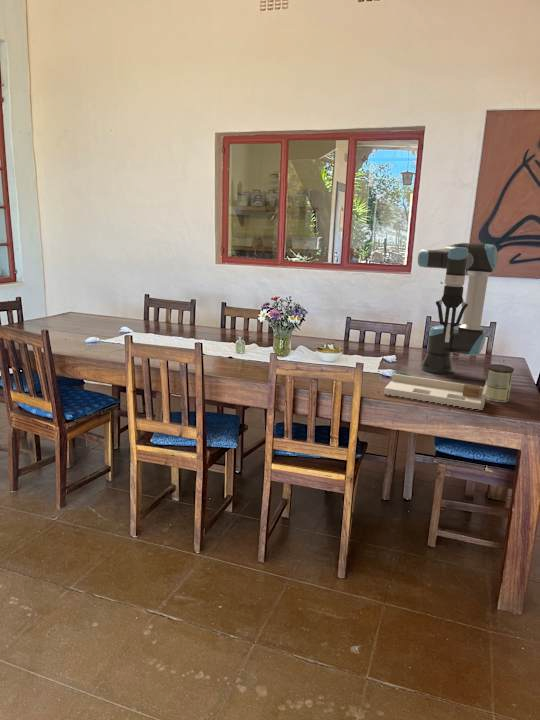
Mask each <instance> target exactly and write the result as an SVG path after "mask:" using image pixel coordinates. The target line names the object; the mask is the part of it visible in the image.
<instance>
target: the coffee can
mask: <svg viewBox="0 0 540 720" xmlns="http://www.w3.org/2000/svg"><path fill="white" fill-rule="evenodd" d="M514 370H515V369H514V368H513V367H511V366H508V365H504V364H488V365H487V371H486V372H487V373H486V379H485V385H488V386H487V393H486V399H485V400H487V401H491V402H496V403H507V401H508V402H509V401H510V394H511V388H512V382H513V376H514V374H513V373H514Z"/></svg>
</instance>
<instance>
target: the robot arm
mask: <svg viewBox="0 0 540 720" xmlns="http://www.w3.org/2000/svg"><path fill="white" fill-rule="evenodd" d="M417 265H418V267H420V268H429V269H431V268H433V269H443V270H444V269H445V270H446V273H445V278H444V280H445V281H444V284H445V285H444V287H443V294H442V295H443V296H442V297H441V299H439V300H436V301H435V304H436V306H437V312H438V320H439V324H440V325H435V326H432V327H430V329H429V333H428V340H427V350H426V355H425V358H424V359H423V361H422V364H421V370H422V371H425V372H428V373H431V374H439V375H441V374H442V375H446V374H447V375H449V374H451V373H452V372H453V364H452V363H453V362H452V359H451V353H453V354H460V355H466V356H476V357H477V356H479V355H480V354H481V352H482V350H483V347H484V345H485V342H486V337H487V333H485V332H484V328H483V327H482V326H481V324H482V318H483V313H484V312H483V310H484V304H485V299H486V298H485V297H486V293H487V287H488V286H487V284H488V281H489V276H491V275H492V274H493V271H494V270H496V269H497V267H498V266H497V265H498V249H497V246H496V245H494V244H489V243H470V242H469V243H468V242H459V243H454V244H449V245H446V246H444V247H443V248H438V249H421V250H419V252H418V256H417ZM466 273H467V274H468V281H467V290H466V295H465V301H464V298H463V295H464V286H465V280H466ZM442 305H444V307H445V314H444V317H443V308H442ZM460 305H461V308H460V312H459V314H458V315H457V316H458V317H457V319H456V314H457V309H458V307H459V306H460ZM450 309H451V310H452V311H451V319H450V325H449V318H450V317H449V316H450ZM461 319H462V321H461ZM455 320H456V321H455ZM460 322H462V323H461V324H460ZM455 327H457V329H455Z"/></svg>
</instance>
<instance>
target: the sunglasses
mask: <svg viewBox="0 0 540 720" xmlns="http://www.w3.org/2000/svg"><path fill="white" fill-rule="evenodd" d="M397 372H398V373H400V375H407V376H413V375H411V374H407V373H405V372H402V371H401V370H400V371H399V370H392V374H395V373H397ZM392 374H391V376H390V382H391V381H392ZM413 377H415V376H413Z"/></svg>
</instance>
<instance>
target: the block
mask: <svg viewBox="0 0 540 720" xmlns="http://www.w3.org/2000/svg"><path fill="white" fill-rule="evenodd" d="M464 384H465V385H464V388H463V396H467V397H473V398H478V396H479V389H480V387H481V386H480V385H475V384H470V383H469V384H468V383H464Z"/></svg>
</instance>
